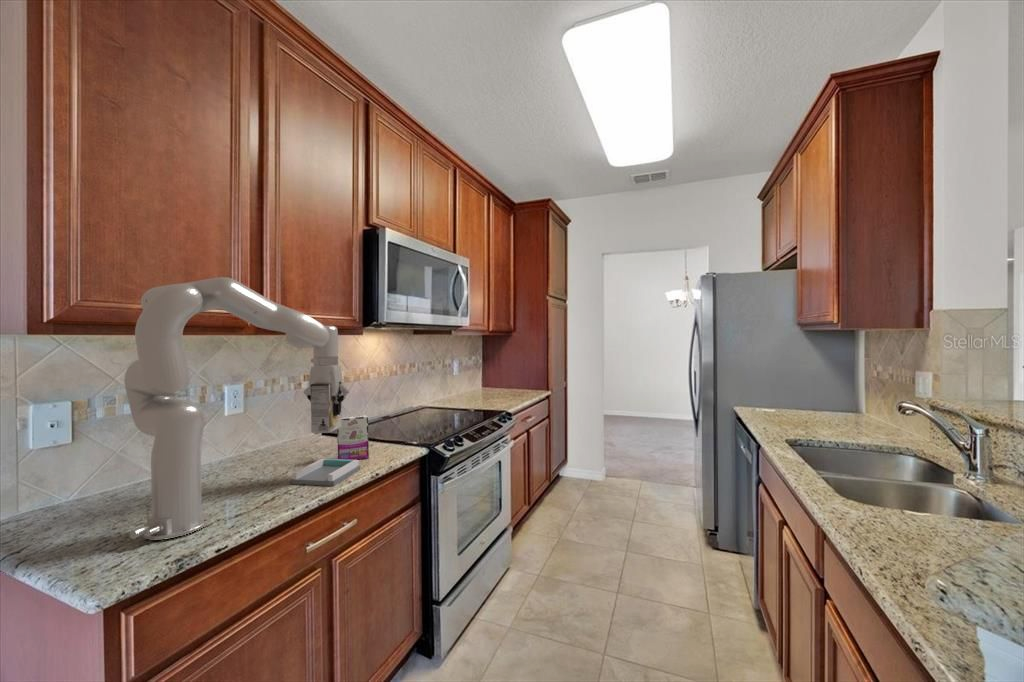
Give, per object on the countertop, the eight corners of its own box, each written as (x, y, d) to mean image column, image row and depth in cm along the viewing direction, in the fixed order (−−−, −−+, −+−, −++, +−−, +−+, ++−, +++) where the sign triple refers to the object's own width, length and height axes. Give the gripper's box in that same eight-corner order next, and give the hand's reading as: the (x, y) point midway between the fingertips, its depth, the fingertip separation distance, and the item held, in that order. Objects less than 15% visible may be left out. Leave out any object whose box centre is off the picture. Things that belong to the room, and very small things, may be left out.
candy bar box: (367, 455, 162) (367, 414, 162) (369, 458, 158) (368, 416, 158) (337, 459, 157) (336, 416, 157) (337, 462, 153) (337, 419, 153)
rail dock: (334, 486, 128) (333, 475, 128) (290, 483, 131) (290, 473, 131) (360, 469, 144) (360, 459, 144) (321, 468, 146) (321, 458, 146)
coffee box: (324, 426, 142) (323, 381, 142) (342, 426, 142) (341, 380, 142) (310, 433, 133) (310, 384, 133) (329, 433, 133) (329, 384, 133)
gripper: (295, 362, 135) (295, 416, 135) (343, 362, 132) (344, 417, 132) (309, 361, 142) (310, 412, 142) (355, 361, 140) (356, 413, 140)
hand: (326, 414), depth 137 cm, fingers closed on coffee box, 6 cm apart
